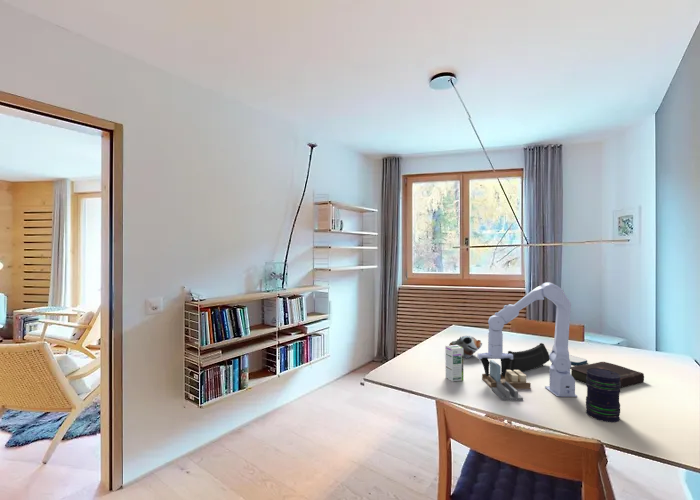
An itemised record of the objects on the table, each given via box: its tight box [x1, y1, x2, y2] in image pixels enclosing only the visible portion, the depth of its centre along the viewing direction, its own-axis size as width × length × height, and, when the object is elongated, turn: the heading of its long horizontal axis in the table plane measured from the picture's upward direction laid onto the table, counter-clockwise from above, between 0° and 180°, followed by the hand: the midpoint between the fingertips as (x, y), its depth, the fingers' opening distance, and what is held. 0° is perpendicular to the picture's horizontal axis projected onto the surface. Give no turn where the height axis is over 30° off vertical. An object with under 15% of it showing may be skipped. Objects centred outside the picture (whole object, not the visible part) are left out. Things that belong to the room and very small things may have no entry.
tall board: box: [489, 359, 501, 382], centre depth 156 cm, size 8×1×8 cm, turn 0°
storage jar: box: [585, 368, 622, 423], centre depth 127 cm, size 10×10×15 cm
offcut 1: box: [505, 370, 518, 382], centre depth 156 cm, size 7×2×4 cm, turn 0°
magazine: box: [507, 342, 550, 373], centre depth 174 cm, size 17×3×30 cm
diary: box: [570, 361, 645, 389], centre depth 162 cm, size 19×25×5 cm
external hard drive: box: [546, 348, 588, 366], centre depth 193 cm, size 24×12×2 cm, turn 29°
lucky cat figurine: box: [448, 335, 483, 359], centre depth 195 cm, size 15×12×14 cm
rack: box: [481, 373, 532, 390], centre depth 156 cm, size 11×16×2 cm
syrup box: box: [444, 345, 464, 383], centre depth 161 cm, size 6×6×14 cm
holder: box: [491, 381, 524, 401], centre depth 144 cm, size 10×8×4 cm
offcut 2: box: [513, 370, 527, 383], centre depth 156 cm, size 7×2×4 cm, turn 0°
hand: (495, 375), depth 156 cm, fingers open, 6 cm apart
